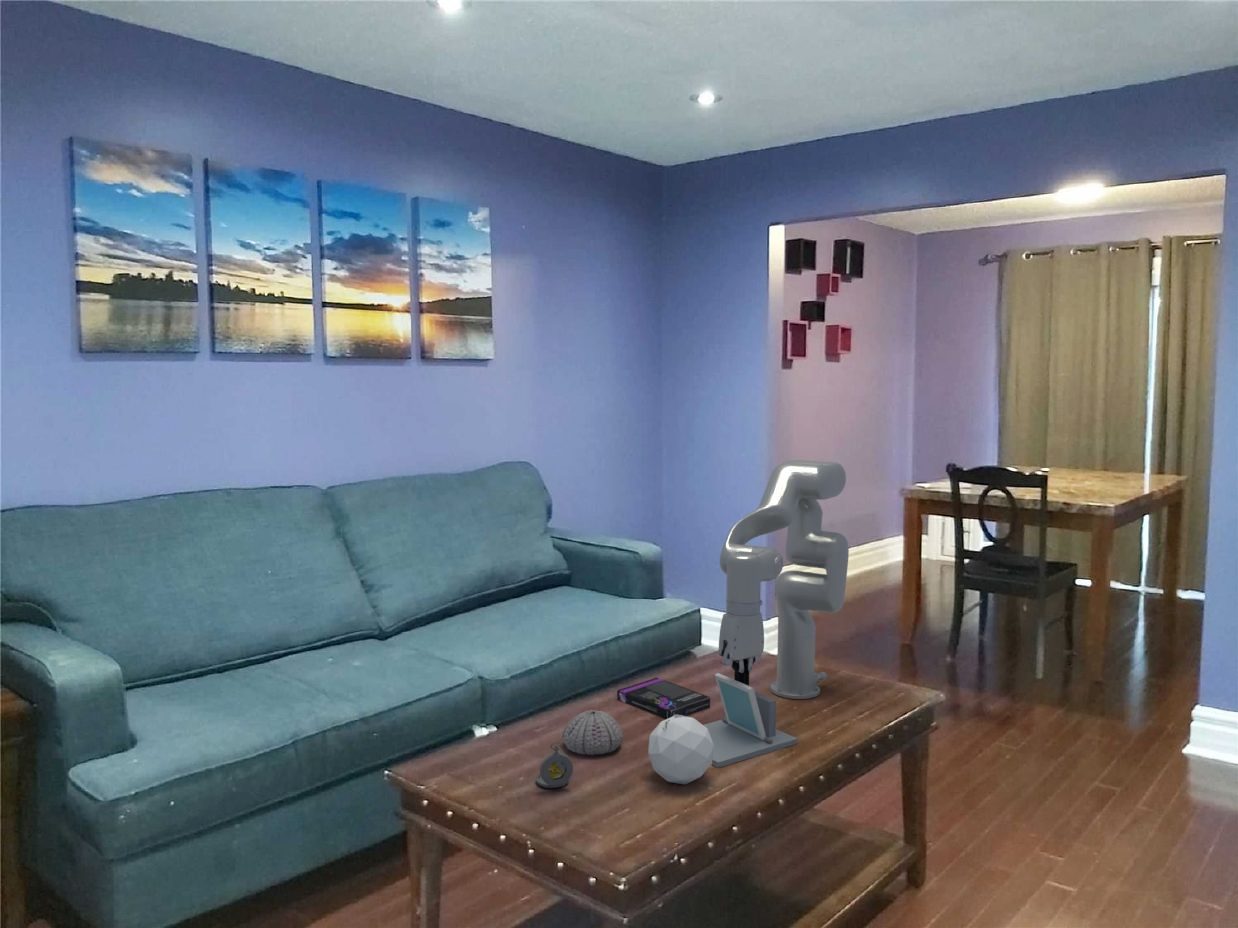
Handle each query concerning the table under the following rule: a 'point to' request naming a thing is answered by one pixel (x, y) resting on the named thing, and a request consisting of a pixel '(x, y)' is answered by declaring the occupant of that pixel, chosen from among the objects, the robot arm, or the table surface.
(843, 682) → the table surface
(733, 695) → the tile
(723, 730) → the board
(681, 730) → the geodesic sphere
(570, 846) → the table surface
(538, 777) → the pocket watch
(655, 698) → the box
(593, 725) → the sea urchin shell
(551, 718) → the table surface
